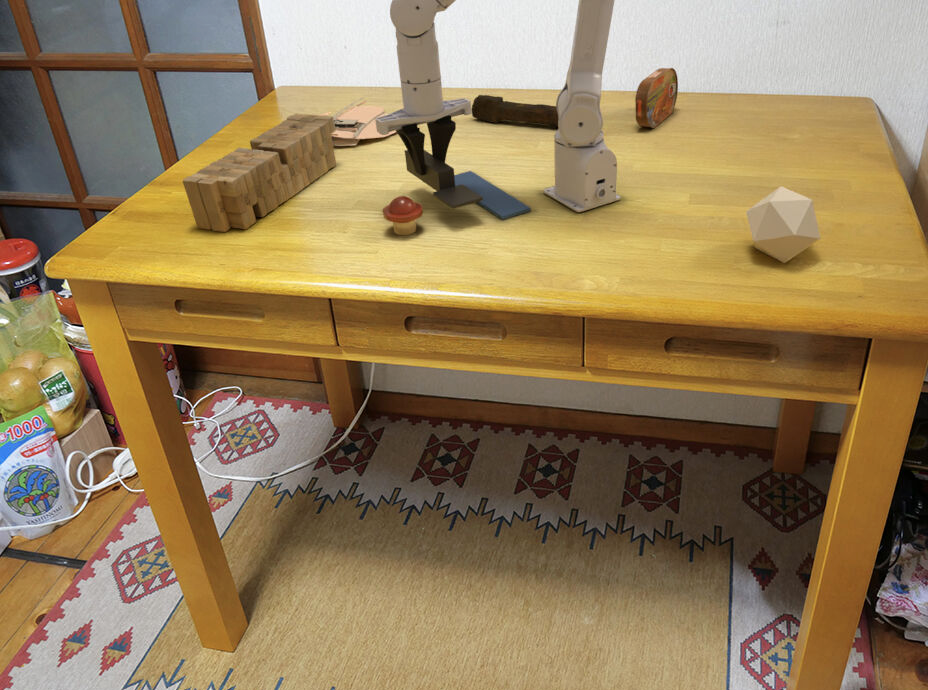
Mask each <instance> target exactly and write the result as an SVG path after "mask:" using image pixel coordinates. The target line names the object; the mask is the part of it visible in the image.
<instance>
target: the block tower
mask: <svg viewBox="0 0 928 690" xmlns="http://www.w3.org/2000/svg"><path fill="white" fill-rule="evenodd" d="M333 116H334V115H326V116H322V115H320V114H306V113H294V114H292V115H289V116H288V117H286V119H284V120H282V122H281V123H279V124H277V125H275V126H273V127H272V128H270V129H268V130H267V131H264V132H262V133H261V134H259V135H258V136H256V137H254V138H252V139H250V140H249V145H250V148H244V147H237V148H236V149H234V151H231V152H229V153H228V154H226V155H224V156H223V157H221V158H219V159H217V160H216V161H213V162H211V163H209V164H208V165H206V166H203V168H201V169H199V170H198V171H196V172H195V173H193V174H191V175H190V176H186V177H185V178H183V179H182V184H183V187H184V190H185V193H186V196H187V199H188V203H189V205H190V209H191V211H192V215H193V218H194V221H195V224H196V227H197V229H202V230H212V231H214V232H222V233H226V232H228V231H229V230H230V229H231V228H233V229H241V230H248V229H249V228H250V227H251V226H252V225H254V224H255V223H257V219H256V217H259V218H264V217H265V216H267V214H269V213H271V212H273V211H274V210H276V209H277V208H278V207H279V206H280V205H281V204H283V203H284V202H286V201H288V200H289V199H291V198H292V197H294V196H295V195H297V194H298V193H299V192H300V191H302V190H303V189H304V188H307V187H308V186H309V185H310V184H312V183H313V182H314V181H317V180H318V179H319V178H320V177H322V176H323V175H325V174H326V173H328V172H329V170H330V169H333V168H334V167H336V166H337V159H336V155H335V149H334V146H333V143H332V138H331V133H333V132H335V131H336V129H335V124H334V118H333Z"/></svg>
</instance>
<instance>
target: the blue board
mask: <svg viewBox="0 0 928 690" xmlns="http://www.w3.org/2000/svg"><path fill="white" fill-rule="evenodd" d="M454 177H455V186H458V185H461V184H463V185H465V186H466V187H468V188H469V189H471V190H472V191H474V192H475V193H477V194H479V195H480V196H482V197H483V201H479V202H476V203H475V204H477V205H479V206H480V207H482V208H483V209H484V210H487V211H488V212H490V213H491V214H493V215H494V216H496V218H499V219H500V220H502V221H503V220H506V219H507V220H508V219H510V218H513V217H517V216H520V215H523V214H527V213H531V211H532V208H531V207H530V206H529V205H527V204H525V203H524V202H522V201H520V200H518V199H517V198H515V197H514V196H513V195H511V194H509V193H507V192H506V191H505V190H502V189H501V188H500V187H498V186H496V185H495V184H493V183H491V182H490V181H488V180H487V179H484V178H483V177H481V176H480V175H478V174H476V173H475V172H473V171H472V170H468V171H464V172H461V173H457V174H454Z"/></svg>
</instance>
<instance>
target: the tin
mask: <svg viewBox="0 0 928 690" xmlns="http://www.w3.org/2000/svg"><path fill="white" fill-rule="evenodd" d="M678 91H679V79H678V74H677V70H675V68H673V67H662V68H661V67H660V68H658V69H656V70H655V71H653V72H651V74H649V75H648V76H646V78H644V79H642V81H641V82H640V83H639V84H638V87H637V89H636V93H635V99H634V101H635V102H634V103H635V121H636V123H637V125H638V126H639V127H642V128H651V129H654V128H657V127H658V126H659V125H660V124H661V123H662V122H663V121H665V119H667V118H668V117H669V116H670V115H672V114H673V112H674V110H675V107H676V103H677V99H678V93H679V92H678Z"/></svg>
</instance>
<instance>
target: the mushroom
mask: <svg viewBox="0 0 928 690" xmlns="http://www.w3.org/2000/svg"><path fill="white" fill-rule="evenodd" d="M423 214H424V209H423V206H422V205H421V204H420V203H418V202H416V201H414V199H412V198H411V197H409V196H406V195H399V196H396V197H395V198H393V199H392V200H391V201H390V202H389V204H387V205H386V206H384V207H383V209H382V216H383V218H384V219H385V221H388V222H391V223H392V227H393V232H394V234H396V235H399V236H408V235H412V234H414V233H416V231H417V223H416V222H417V221H416V220H418V219H419V218H421V217H422V216H423Z"/></svg>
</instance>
